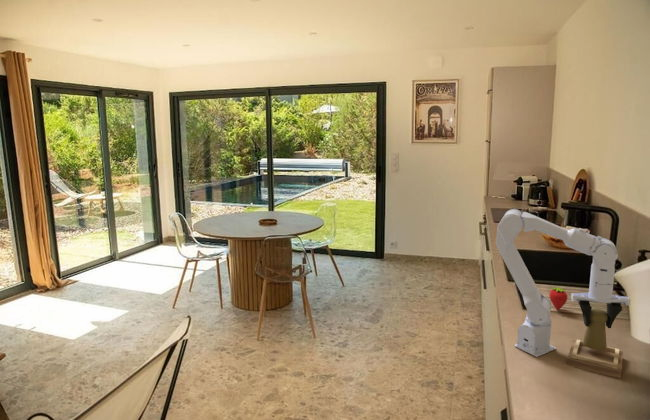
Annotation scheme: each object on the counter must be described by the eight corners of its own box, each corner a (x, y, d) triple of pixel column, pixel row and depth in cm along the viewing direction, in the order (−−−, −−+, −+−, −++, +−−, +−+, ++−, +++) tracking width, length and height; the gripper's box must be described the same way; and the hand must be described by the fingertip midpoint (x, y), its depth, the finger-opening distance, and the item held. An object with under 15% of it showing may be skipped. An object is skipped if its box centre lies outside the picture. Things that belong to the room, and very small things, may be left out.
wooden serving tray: (620, 378, 120) (621, 368, 119) (566, 364, 127) (567, 355, 127) (622, 357, 130) (623, 348, 130) (572, 346, 138) (573, 337, 137)
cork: (585, 337, 134) (588, 304, 132) (608, 343, 130) (612, 309, 128) (580, 345, 130) (583, 311, 128) (604, 352, 126) (607, 316, 124)
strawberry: (550, 313, 162) (552, 287, 160) (546, 305, 169) (548, 280, 167) (568, 314, 160) (570, 288, 158) (563, 306, 167) (565, 281, 166)
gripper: (624, 278, 128) (620, 322, 130) (569, 275, 131) (566, 318, 134) (635, 287, 121) (629, 332, 123) (576, 283, 125) (572, 328, 127)
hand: (597, 325), depth 128 cm, fingers closed on cork, 5 cm apart
